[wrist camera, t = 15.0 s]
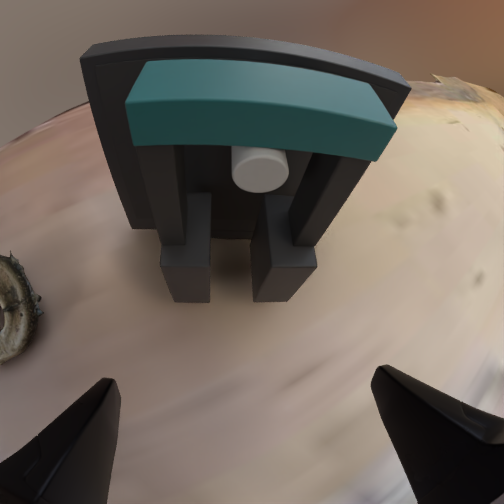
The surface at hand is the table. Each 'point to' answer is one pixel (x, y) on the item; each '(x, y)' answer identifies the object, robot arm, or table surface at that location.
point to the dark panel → (212, 156)
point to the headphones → (251, 135)
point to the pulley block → (16, 309)
